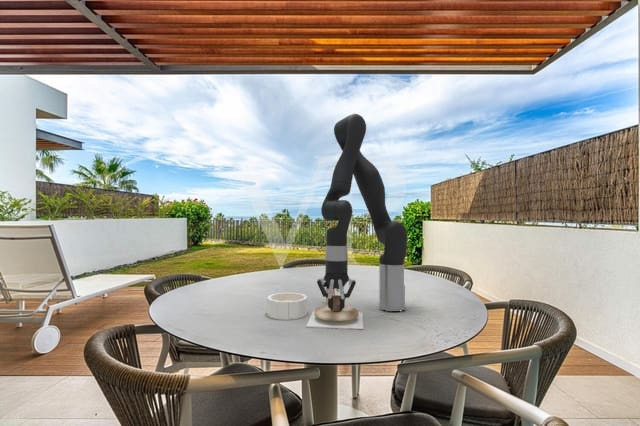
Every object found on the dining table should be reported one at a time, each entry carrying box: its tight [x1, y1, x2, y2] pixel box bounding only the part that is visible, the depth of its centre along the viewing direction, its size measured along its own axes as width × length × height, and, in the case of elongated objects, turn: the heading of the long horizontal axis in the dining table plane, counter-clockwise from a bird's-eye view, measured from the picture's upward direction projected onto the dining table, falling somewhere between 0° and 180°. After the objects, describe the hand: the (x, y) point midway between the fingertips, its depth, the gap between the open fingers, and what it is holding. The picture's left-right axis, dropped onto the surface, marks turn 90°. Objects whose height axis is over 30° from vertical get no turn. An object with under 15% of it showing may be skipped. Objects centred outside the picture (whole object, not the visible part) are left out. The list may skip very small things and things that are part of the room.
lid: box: [313, 294, 360, 321], centre depth 116 cm, size 15×15×6 cm
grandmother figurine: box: [323, 281, 340, 305], centre depth 138 cm, size 8×4×13 cm, turn 84°
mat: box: [305, 309, 364, 330], centre depth 116 cm, size 18×18×1 cm
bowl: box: [266, 292, 308, 321], centre depth 123 cm, size 14×14×6 cm
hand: (336, 309), depth 116 cm, fingers closed on lid, 3 cm apart
